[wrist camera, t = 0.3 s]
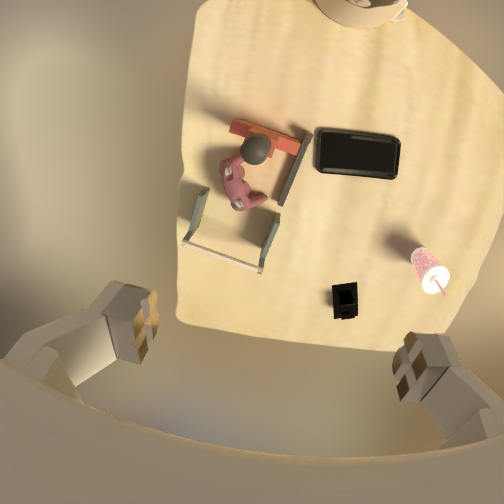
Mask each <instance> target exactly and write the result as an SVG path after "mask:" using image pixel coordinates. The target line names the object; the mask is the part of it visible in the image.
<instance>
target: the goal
mask: <svg viewBox="0 0 504 504" xmlns="http://www.w3.org/2000/svg"><path fill="white" fill-rule="evenodd" d="M209 190H210V188H207V187H206V188H205V189H204V190H203V191H202V192H201V193H200V194H199V195H198V198H197V202H196V205H195V209H194V213H193V216H192V220H191V224H190V228H189V231H188V233H187V234H186V236H185V237H184V238H183V240H182V241H181V246H184V247H187V248H189V249H192V250H195V251H198V252H200V253H203V254H206V255H209V256H211V257H214V258H217V259H220V260H222V261H225V262H228V263H231V264H233V265H236V266H239V267H242V268H245V269H247V270H250V271H253V272H256V273H259V274H262V272H263V267H264V261H265V258H266V255H267V253H268V250H269V248H270V246H271V243H272V241H273V239H274V236H275V234H276V232H277V229H278V227H279V224H280V214H279V213H276V215H275V217H274V220H273V222H272V224H271V227H270V229H269V232H268V234H267V237H266V239H265V241H264V244H263V246H262V249H261V254H260V259H259V265H258V266H256V265H253V264H250V263H247V262H244V261H242V260H239V259H236V258H233V257H231V256H228V255H225V254H222V253H219V252H217V251H214V250H211V249H208V248H206V247H203V246H200V245H197V244H195V243H192V242H189V240H190V238H191V237H192V235H193V234H194V232H195V231H196V229H197V228H198V227H199V224H200V221H201V217H202V214H203V210H204V207H205V203H206V200H207V197H208V193H209Z"/></svg>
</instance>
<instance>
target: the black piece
mask: <svg viewBox="0 0 504 504" xmlns="http://www.w3.org/2000/svg"><path fill="white" fill-rule="evenodd" d="M332 293H333V309H334V319H338V318H341V319H342V320H344V319H351V318H355V316H358V293H357V282H354V283H346V284H338V285H332Z"/></svg>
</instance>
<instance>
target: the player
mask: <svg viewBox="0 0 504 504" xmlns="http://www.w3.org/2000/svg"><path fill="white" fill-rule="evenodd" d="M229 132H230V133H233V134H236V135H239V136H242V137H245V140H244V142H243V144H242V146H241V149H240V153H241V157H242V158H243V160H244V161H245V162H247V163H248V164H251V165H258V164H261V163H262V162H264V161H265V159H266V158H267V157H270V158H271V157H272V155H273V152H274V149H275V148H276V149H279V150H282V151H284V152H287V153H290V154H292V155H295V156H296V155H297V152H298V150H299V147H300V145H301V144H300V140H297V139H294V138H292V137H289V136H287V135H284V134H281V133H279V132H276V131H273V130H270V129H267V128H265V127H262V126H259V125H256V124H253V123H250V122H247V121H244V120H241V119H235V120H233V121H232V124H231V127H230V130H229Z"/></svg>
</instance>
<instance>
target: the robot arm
mask: <svg viewBox="0 0 504 504" xmlns="http://www.w3.org/2000/svg"><path fill="white" fill-rule="evenodd" d="M315 2H316V4H317V5H318V7H319V8H320V9H321V10H322V11H323V13H324V14H326V15H327V16H328V17H329V18H331V19H332V20H334V21H335V22H337V23H339V24H341V25H344V26H347V27H350V28H354V29H372V28H376V27H379V26H381V25H383V24H385V23H388V22H401V21H402V20H403V19H404V17H405V7H406V6H407V4H408V3H407V1H406V0H315ZM157 302H158V300H157V293H156V292H155V291H154V290H150V289H146V288H142V287H138V286H134V285H131V284H126V283H122V282H118V281H111V282H110V283H109V284H108V285H107V286H106V287H105V289H104V290H103V291H102V292H101V293H100V294H99V296H98V297H97V298H96V299H95V300H94V302H93V303H92V304H91V305H90V307H89V308H88V309H87V310H85V309H81V310H79V311H77V312H75V313H72V314H69V315H67V316H65V317H62V318H60V319H57V320H55V321H53V322H50V323H48V324H46V325H43V326H41V327H38V328H36V329H34V330H31V331H29V332H26V333H24V334H23V336H22V337H21V338H20V339H19V340H18V341H17V343H16V344H15V345H14V346H13V348H12V349H11V350H10V351H9V353H8V354H7V355H6V356H5V358H4V359H3V360H2V359H1V358H0V504H504V401H503V400H502V399H501V398H500V397H499V396H498V395H496V394H495V393H494V392H493V391H492V390H491V389H490V388H489V387H488V386H487V385H486V384H485V383H483V382H482V381H481V380H480V379H479V378H478V377H477V376H476V375H474V374H473V373H472V372H471V371H470V370H469V369H468V368H467V367H463V365H462V363H461V361H460V359H459V357H458V355H457V352H456V350H455V348H454V346H453V344H452V342H451V340H450V338H449V336H448V335H447V334H445V333H423V332H411V331H410V332H409V333H408V334H407V335H406V337H405V338H404V346H402V347H401V348H399V349H398V350H397V352H396V354H395V356H394V359H393V363H392V370H393V374H394V377H395V378H396V379H397V380H398V381H399V382H398V384H397V386H396V387H397V391H398V395H399V399H400V401H401V402H420V404H421V405H422V406H423V408H424V409H425V410H426V411H427V413H428V414H429V416H430V417H431V418H432V420H433V421H434V422H435V424H436V425H437V426H438V428H439V429H440V430H441V432H442V433H443V434H444V436H445V437H446V438H447V440H446V441H445V442H444V443H443V444H441V445H440V446H439V447H438V449H437V450H434V451H428V452H422V453H413V454H404V455H393V456H380V457H356V458H330V457H304V456H290V455H279V454H270V453H262V452H255V451H248V450H241V449H235V448H229V447H223V446H218V445H214V444H209V443H204V442H200V441H195V440H191V439H187V438H183V437H179V436H175V435H171V434H168V433H165V432H161V431H158V430H154V429H151V428H148V427H145V426H142V425H138V424H136V423H133V422H130V421H127V420H124V419H121V418H119V417H116V416H113V415H111V414H108V413H106V412H103V411H101V410H98V409H96V408H93V407H91V406H89V405H86V404H84V403H83V402H82V398H81V397H80V395H79V393H78V391H77V390H76V388H75V387H76V386H77V385H79V384H80V383H82V382H83V381H85V380H86V379H88V378H89V377H91V376H92V375H94V374H95V373H97V372H98V371H100V370H101V369H103V368H104V367H106V366H107V365H109V364H110V363H112V362H113V361H115V360H116V358H119V359H122V360H126V361H129V362H133V363H136V364H140V365H141V363H142V361H143V359H144V357H145V355H146V353H147V351H148V345H147V343H148V342H150V341H152V340H153V339H154V337H155V335H156V333H157V329H158V325H159V312H158V311H157V309H156V308H155V305H156V303H157Z"/></svg>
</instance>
